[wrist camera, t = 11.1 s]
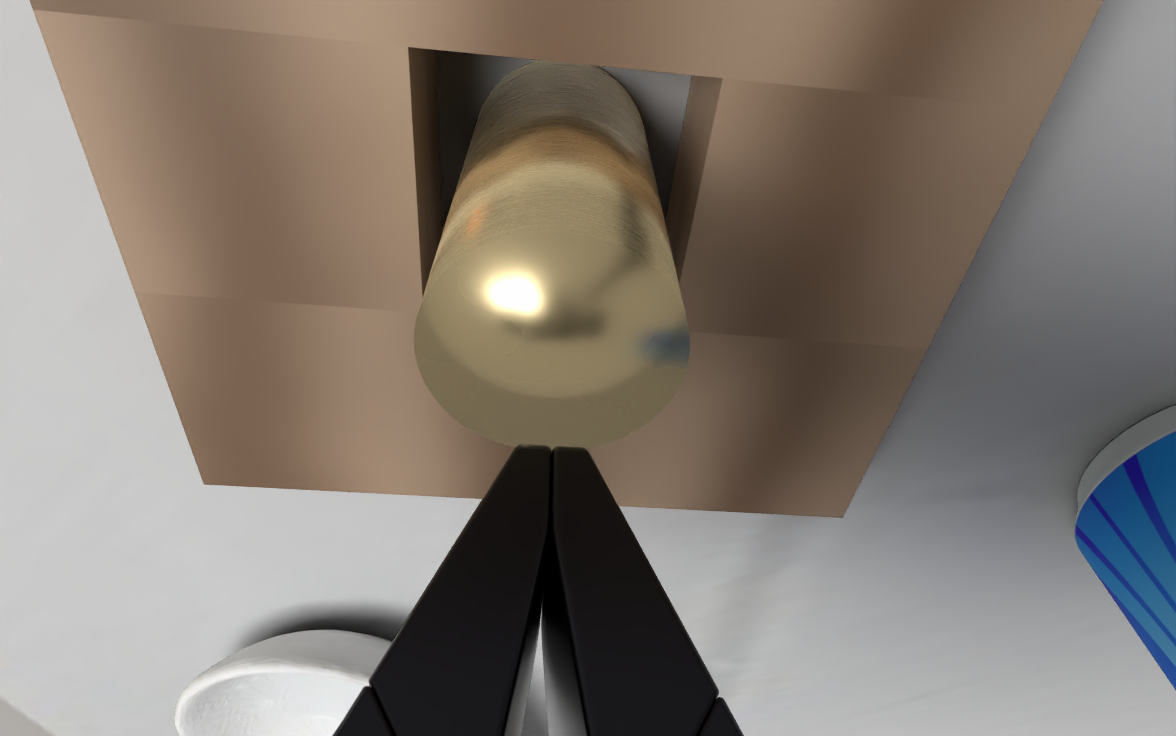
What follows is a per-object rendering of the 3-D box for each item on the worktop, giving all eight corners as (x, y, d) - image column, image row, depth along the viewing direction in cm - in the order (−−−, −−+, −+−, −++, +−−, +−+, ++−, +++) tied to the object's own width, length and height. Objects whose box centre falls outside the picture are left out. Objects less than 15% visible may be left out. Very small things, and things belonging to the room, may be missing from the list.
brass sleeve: (658, 67, 15) (717, 244, 9) (632, 230, 18) (665, 458, 12) (474, 49, 15) (404, 219, 9) (474, 218, 18) (420, 444, 11)
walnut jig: (1142, -328, 12) (1287, -364, 9) (814, 444, 23) (842, 517, 20) (-11, -502, 10) (-185, -595, 8) (244, 410, 21) (203, 484, 19)
